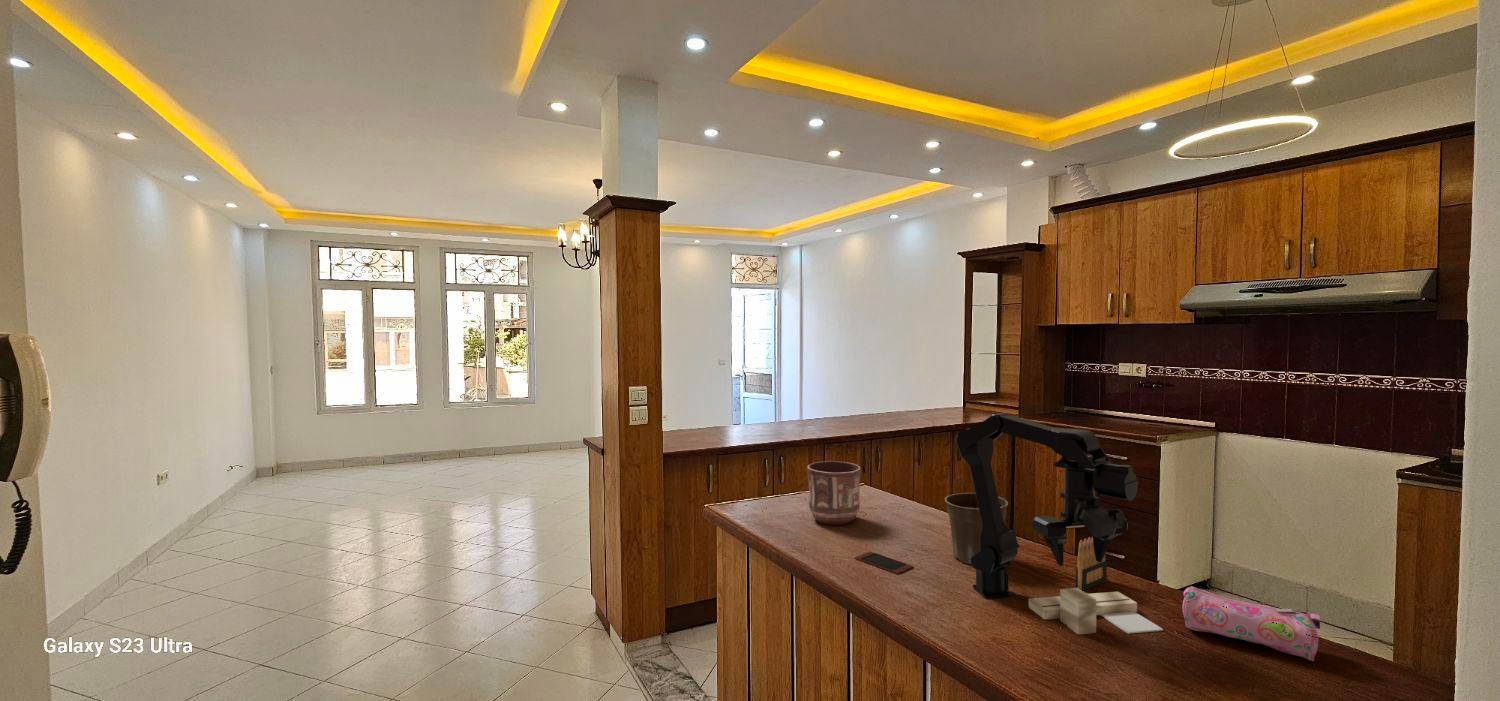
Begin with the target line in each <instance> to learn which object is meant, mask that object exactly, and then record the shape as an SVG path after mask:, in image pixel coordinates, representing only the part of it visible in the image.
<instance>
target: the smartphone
mask: <svg viewBox="0 0 1500 701" xmlns="http://www.w3.org/2000/svg"><path fill="white" fill-rule="evenodd" d="M855 559H856V560H855ZM854 560H855V561H858V560H859V561H858V562H860V561H861V562H860V563H863V562H864V563H863V564H866V565H868V566H871V565H872V567H874V566H875V568H877V569H881V570H883V571H886V572H889V573H891V574H895V575H896V576H898V575H902V574H904V573H907V572H909V571H910V570H914V569H915V567H914V566H913V565H911V564H909V563H906V562H904V561H901V560H896V559H894V558H891V557H888V556H885V555H883V554H879V553H876V552H874V551H868V552H865V553H862V554H860V555H857V556H855V557H854Z"/></svg>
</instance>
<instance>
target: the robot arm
mask: <svg viewBox="0 0 1500 701" xmlns="http://www.w3.org/2000/svg"><path fill="white" fill-rule="evenodd" d="M1003 434H1007V435H1009V436H1013V437H1016V438H1019V439H1022V440H1027V441H1029V442H1033V443H1037V444H1039V445H1042V446H1045V447H1047V448H1049V449H1050V450H1051V451H1053V452H1054V453H1055V454H1057V455H1059V456H1061V457H1060V459H1058V460H1057V461H1056V462H1054V463H1053V466H1054V467H1056V468H1062V469H1064V473H1063V474H1064V475H1063V478H1064V487H1063V488H1064V489H1063V490H1064V492H1060V493H1059V494H1060V495H1059V496H1060V498H1062V499H1064V503H1063V504H1064V506H1063V507H1064V510H1063V511H1060V513H1059V514H1060V517H1061V518H1064V519H1059V518H1057V517H1054V516H1052V515H1041V516H1040V515H1039V516H1035V517H1034V518H1033V519H1032V522H1031V525H1032V528H1031V529H1032V530H1033V531H1036V532H1037V533H1038V534H1039V535H1041V536H1043V538H1044V539H1045V541H1046V543H1047V544H1048V546H1049V549H1050V551H1051V554H1052V555H1053V557H1054V559H1055V561H1056V563H1057V565H1058V566H1059V567H1063V565H1064V543H1065V542H1066V541H1067V539H1068V537H1067V536H1065V535H1066V534H1067V530H1072V529H1084V528H1085V529H1087V530H1088V531H1089V532H1090V534H1091V535H1092V536H1093V544H1094V552H1095V557H1096V561H1098V562H1102V560H1103V557H1104V555H1105V556H1106V552H1107V550H1108V548H1109V545H1110V544H1111V541H1112V540H1113V539H1115V538H1116V537H1117V536H1120V535H1122V534H1123V532H1127V531H1128V529H1129V528H1128V527H1129V526H1128V521H1127V519H1126V517H1125V516H1124V512H1123V511H1122V510H1121V509H1119V508H1114V509H1112V508H1111V509H1108V508H1107V509H1104V508H1102V504H1101V503H1102V502H1101V500H1100V497H1097V496H1096V492H1097V493H1098V495H1100V496H1104V497H1109V498H1114V499H1119V500H1125V501H1129V502H1130V501H1131V502H1132V501H1133V500H1134V499H1135V498H1136V497H1137V493H1138V489H1139V481H1138V480H1137V479H1138V478H1137V476H1136V473H1135V472H1134V468H1133V466H1132V465H1130V464H1129V465H1128V464H1116V463H1112V461H1111V459H1110V458H1109V456H1108V455H1107V453H1106V452H1105V451H1104V449H1103V448H1102V447H1101V445H1100V442H1099V439H1098V437H1097V436H1096V434H1095V433H1094V432H1093V431H1091V430H1088V429H1079V428H1062V427H1054V426H1050V425H1047V424H1042V423H1039V422H1035V421H1032V420H1028V419H1024V418H1021V417H1017V416H1015V415H1014V416H1013V415H1010V414H1008V413H1007V412H999V413H995V414H991V415H990V416H989V417H987V418H986V419H985V420H983V421H981V422H978V423H977V424H975V425H974V426H972V427H970V428H964V429H961V430H960V431H959V432H958V433H957V435H956V438H955V440H956V445H957V447H958V451H959V453H960V456H961V457H962V458H963V460H964V461H965V462H966V464H967V465H968V466H969V470H970V474H971V475H970V476H971V479H972V483H973V488H974V493H975V494H976V498H977V503H978V508H979V512H980V517H981V521H982V530H981V535H980V539H979V542H980V552H978V553H977V554H976V555H975V556H973V557H972V558H971V559H970V560H971V564H972V565H971V567H972V568H973V569H975V584H972V588H973V589H974V590H975V591H977V593H979V594H980V595H981V596H983V597H984V598H985V599H989V598H1001V597H1002V598H1004V597H1012V595H1011V594H1012V593H1010V592H1009V589H1010V588H1009V586H1010V584H1009V582H1010V581H1009V580H1010V577H1009V573H1008V567H1007V566H1010V565H1011V564H1012V561H1014V559H1015V558H1016V557H1017V555H1018V553H1019V552H1018V551H1019V548H1020V545H1019V542H1018V539H1017V532H1016V530H1015V529H1011V530H1010V529H1009V528H1008V526H1007V525H1006V524H1005V522H1004V521H1005V520H1004V521H1003V517H1002V513H1001V508H1000V504H999V499H998V497H999V496H998V491H997V486H996V482H995V477H994V473H993V472H994V471H993V469H992V468H993V467H992V462H991V461H992V458H993V455H994V441H995V440H996V439H998V438H1000V437H1001V435H1003ZM1092 536H1091V537H1092Z"/></svg>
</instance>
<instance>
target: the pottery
mask: <svg viewBox="0 0 1500 701" xmlns="http://www.w3.org/2000/svg"><path fill="white" fill-rule="evenodd" d="M806 472H807V477H808V478H807V481H808V506H809V511H810V512H811V514H812V516H813V518H814V519H815V520H816V521H817V522H819V523H820V524H822V523H823V525H827V524H829V526H843V525H844V524H845V525H848V524H850V523H851V522H853V520H854V519H855V518H856V517H857V516H858V513H859V511H860V506H861V500H860V498H861V496H860V489H861V488H860V487H861V486H860V485H861V475H862V467H861V466H860V465H858V464H856V463H853V462H846V461H836V460H824V461H823V460H822V461H817V462H813V463H810V464H808V465H807V466H806Z"/></svg>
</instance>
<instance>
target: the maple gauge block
mask: <svg viewBox="0 0 1500 701" xmlns="http://www.w3.org/2000/svg"><path fill="white" fill-rule="evenodd" d="M1059 591H1060V592H1059V596H1060V618H1059V620H1060V622H1061V623H1062V622H1063V623H1062V624H1064V625H1065V624H1066V625H1067V626H1066V625H1065V626H1066V627H1068V628H1069V629H1070V630H1071V631H1072V632H1074V633H1075V634H1077V635H1085V634H1097V615H1096V599H1094V598H1093V597H1091V596H1090V595H1088V594H1089V593H1086V592H1085V591H1082V590H1080V589H1079V588H1076V587H1070V588H1060V589H1059Z"/></svg>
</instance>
